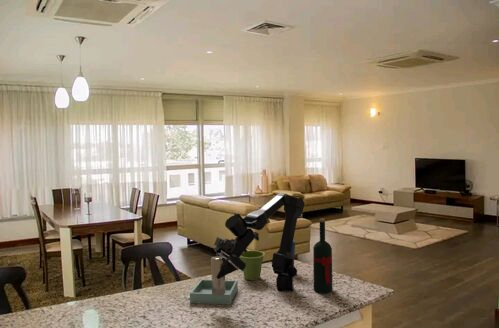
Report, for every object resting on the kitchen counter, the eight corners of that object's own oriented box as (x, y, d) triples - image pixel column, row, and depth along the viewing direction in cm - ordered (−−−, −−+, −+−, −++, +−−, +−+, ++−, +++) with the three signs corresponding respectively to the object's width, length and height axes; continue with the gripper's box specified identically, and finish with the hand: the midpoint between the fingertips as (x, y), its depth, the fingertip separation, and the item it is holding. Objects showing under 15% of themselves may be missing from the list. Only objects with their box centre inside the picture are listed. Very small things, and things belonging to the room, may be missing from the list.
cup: (294, 274, 188) (294, 243, 188) (280, 274, 190) (280, 242, 189) (296, 270, 195) (295, 239, 194) (282, 269, 196) (281, 239, 196)
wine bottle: (319, 296, 161) (318, 222, 160) (310, 287, 171) (309, 217, 170) (338, 294, 163) (337, 221, 161) (328, 286, 173) (327, 216, 171)
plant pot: (233, 278, 185) (233, 254, 185) (252, 272, 193) (252, 249, 193) (251, 284, 177) (251, 259, 176) (270, 278, 185) (270, 253, 184)
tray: (237, 289, 171) (237, 280, 170) (230, 304, 155) (229, 294, 155) (201, 288, 173) (200, 279, 173) (189, 302, 157) (189, 293, 157)
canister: (226, 290, 151) (225, 256, 151) (223, 295, 146) (222, 260, 146) (213, 290, 152) (212, 256, 151) (210, 295, 147) (209, 260, 146)
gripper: (218, 224, 158) (191, 256, 154) (237, 234, 141) (208, 270, 137) (237, 242, 162) (211, 273, 158) (257, 253, 145) (230, 288, 141)
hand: (214, 275), depth 148 cm, fingers closed on canister, 5 cm apart
